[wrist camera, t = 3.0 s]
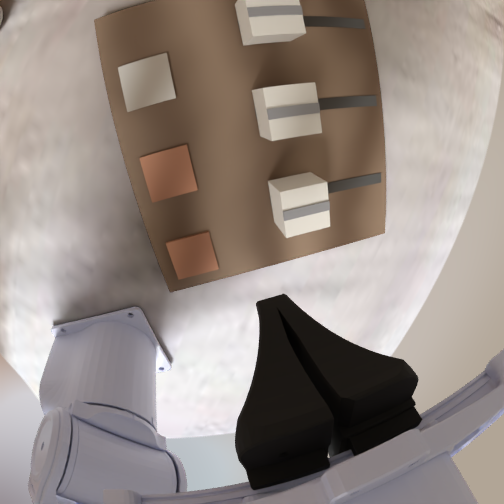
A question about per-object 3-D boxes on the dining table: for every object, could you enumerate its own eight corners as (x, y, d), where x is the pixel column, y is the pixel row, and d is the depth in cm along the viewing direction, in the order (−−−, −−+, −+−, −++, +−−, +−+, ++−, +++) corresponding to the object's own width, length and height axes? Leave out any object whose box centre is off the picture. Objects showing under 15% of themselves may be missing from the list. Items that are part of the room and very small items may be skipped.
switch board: (170, 284, 22) (170, 293, 21) (98, 23, 12) (93, 19, 11) (378, 228, 24) (386, 234, 23) (354, -7, 14) (363, -10, 13)
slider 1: (243, 45, 14) (253, 36, 12) (234, 4, 13) (243, -11, 11) (290, 41, 15) (307, 33, 12) (281, 1, 13) (296, -12, 11)
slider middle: (260, 136, 17) (272, 141, 15) (251, 90, 16) (263, 87, 14) (304, 128, 18) (322, 133, 15) (298, 84, 16) (315, 82, 14)
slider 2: (274, 221, 20) (286, 239, 18) (267, 180, 19) (280, 192, 17) (314, 212, 21) (331, 227, 18) (310, 171, 19) (327, 182, 17)
